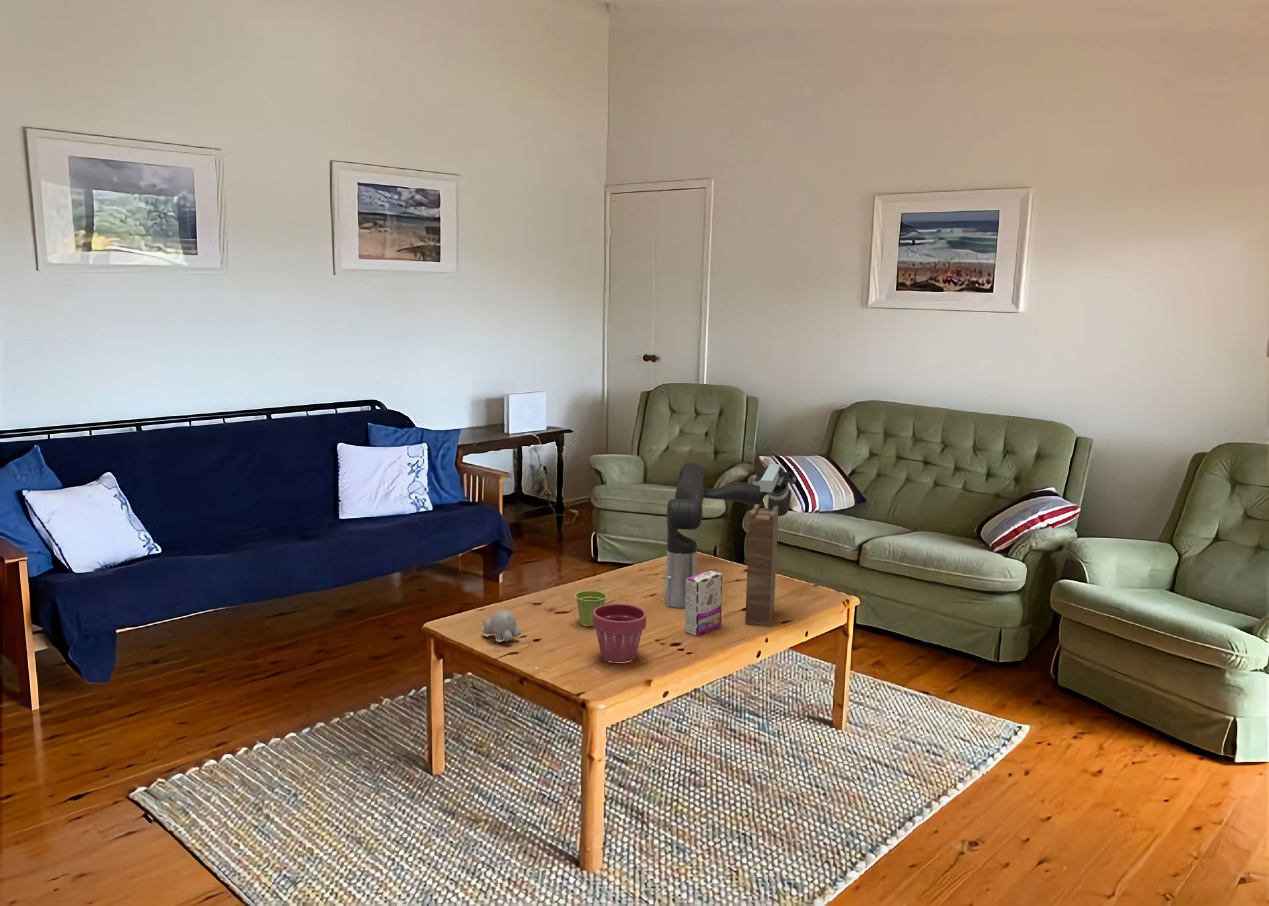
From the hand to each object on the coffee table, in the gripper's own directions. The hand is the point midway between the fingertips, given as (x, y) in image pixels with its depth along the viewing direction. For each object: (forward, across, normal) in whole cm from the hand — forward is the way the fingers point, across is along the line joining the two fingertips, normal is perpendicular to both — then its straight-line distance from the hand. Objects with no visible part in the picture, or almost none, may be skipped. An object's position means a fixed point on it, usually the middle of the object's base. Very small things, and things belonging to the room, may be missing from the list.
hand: (773, 469), depth 301 cm
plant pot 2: (+35, -33, +68) cm, 83 cm away
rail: (+4, 0, +6) cm, 7 cm away
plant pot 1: (+16, -47, +57) cm, 75 cm away
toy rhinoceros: (+32, -68, +66) cm, 100 cm away
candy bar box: (+12, -15, +54) cm, 58 cm away
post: (-1, 0, +47) cm, 47 cm away
